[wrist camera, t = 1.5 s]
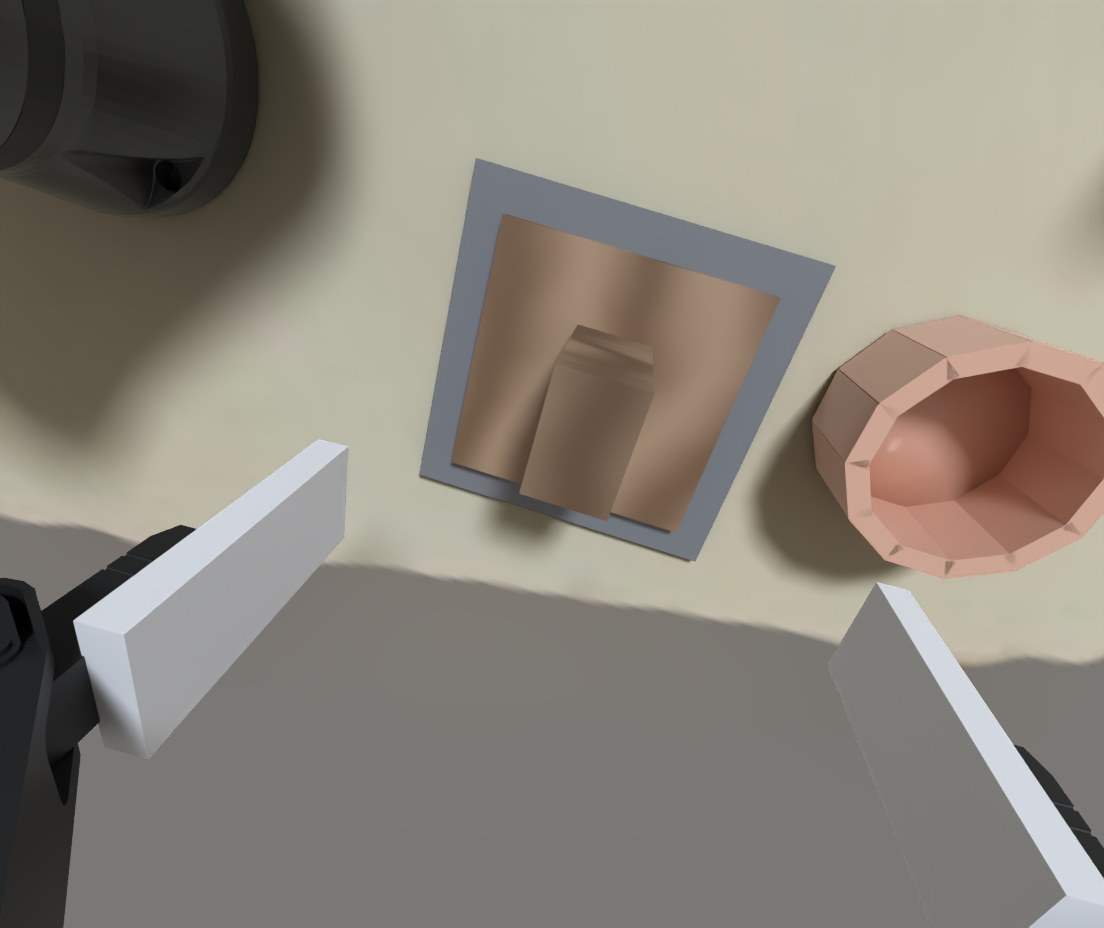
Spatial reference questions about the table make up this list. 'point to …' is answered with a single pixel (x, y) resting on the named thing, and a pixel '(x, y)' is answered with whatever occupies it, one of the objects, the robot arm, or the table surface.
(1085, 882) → the robot arm
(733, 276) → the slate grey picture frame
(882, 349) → the terracotta bowl
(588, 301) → the walnut lid
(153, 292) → the table surface
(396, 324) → the table surface
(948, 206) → the table surface
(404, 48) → the table surface
